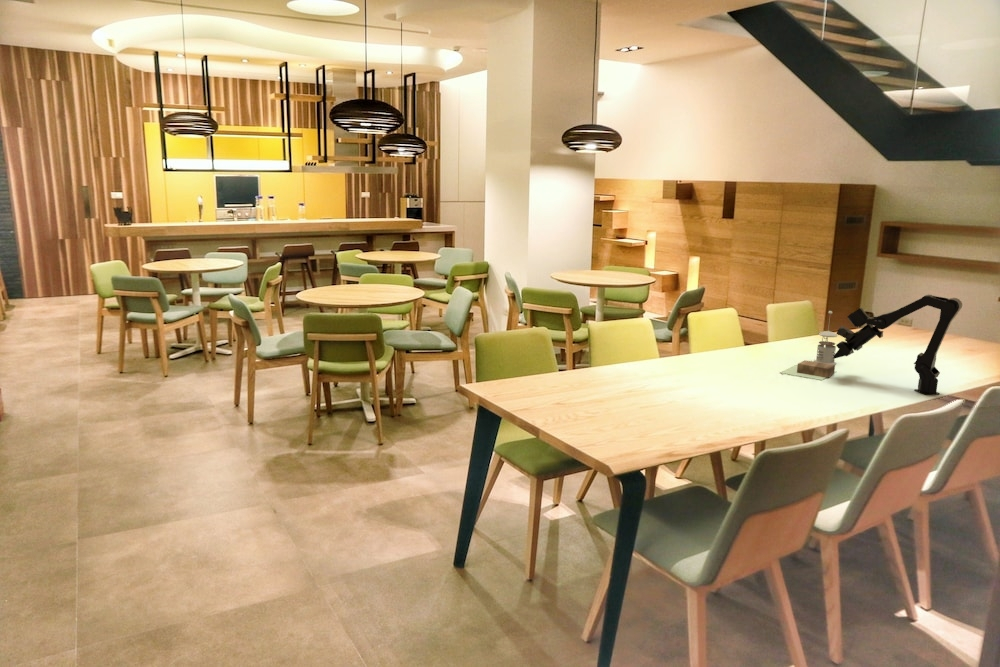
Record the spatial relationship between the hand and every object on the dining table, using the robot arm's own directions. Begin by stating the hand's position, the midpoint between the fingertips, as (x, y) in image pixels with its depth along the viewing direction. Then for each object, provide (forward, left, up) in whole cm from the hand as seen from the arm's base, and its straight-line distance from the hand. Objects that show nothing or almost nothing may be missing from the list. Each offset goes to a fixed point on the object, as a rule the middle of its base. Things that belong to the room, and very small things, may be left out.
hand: (833, 357), depth 303 cm
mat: (+8, +7, -9) cm, 13 cm away
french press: (+25, -12, -9) cm, 29 cm away
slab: (0, 0, -6) cm, 6 cm away
